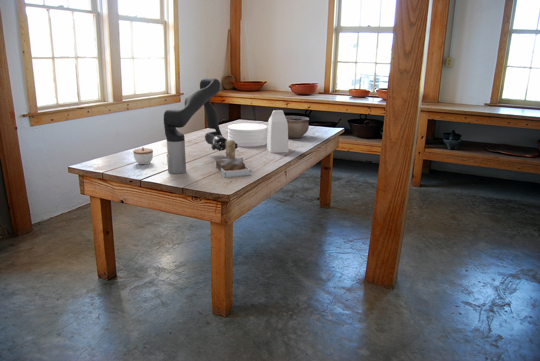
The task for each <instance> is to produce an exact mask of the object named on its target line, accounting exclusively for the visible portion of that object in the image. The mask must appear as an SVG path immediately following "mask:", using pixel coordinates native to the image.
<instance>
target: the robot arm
mask: <svg viewBox="0 0 540 361" xmlns="http://www.w3.org/2000/svg"><path fill="white" fill-rule="evenodd" d="M221 86H222V85H221V82H220V80H219V79H217V78H209V77H207V78H206V77H203V78H202V79H200V81H199V89H197V90H194V91H192V92H191V93H189V95H187V97H185V99H184V108H182V109H176V108H175V109H174V108H173V109H172V108H170V109H169V108H168V109H166V110H165V111H164V113H163V126H164V128H163V129H164V135H165V137H166V149H167V154H166V160H167V162H166V163H167V171H168V173H169V174H170V175H171V174H172V175H179V174H180V175H181V174H184V173H187V162H186V160H187V159H186V140H185V134H183V133H182V132H180V131H178V130H177V129H181V128H184V127H185V126H186V125H187V124H188V122H189V121H190V120H191V118H192V117H193V116H194V115H195V114H196V113H197V112H198V111H199V110H201V108H202V107H204V110H205V118H206V128H208V129H212V130H213V131H208V132H206V134H205V135H204V139H205V141H206V143H207V144H209V145H210V146H211V149H212V150H213V151H215V150H216V151H219V152H220V151H226V141H228V138H226V137H225V136H223V134H222V132H221V129H220V126H219V117H218V112H217V110H216V108H215V106H213V104H212V102H211V99H212V98H213V97H215V96H216V95H217V94H219V92H220V90H221ZM214 130H215V131H214ZM238 147H239V146H237V143H235V151H236V150H237V149H238Z"/></svg>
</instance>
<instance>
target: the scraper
mask: <svg viewBox="0 0 540 361" xmlns="http://www.w3.org/2000/svg"><path fill="white" fill-rule="evenodd" d="M227 140H228V139H227ZM220 161H221V165H231V164H242V163H244V157H242V156H240V157H236V150H235V141H233V140H228V141H226V149H225V158H221V159H220Z"/></svg>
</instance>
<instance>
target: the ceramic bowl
mask: <svg viewBox="0 0 540 361" xmlns="http://www.w3.org/2000/svg"><path fill="white" fill-rule="evenodd" d="M285 118H286V120H287V123H288V139H297V138H302V137H303V136H305V134H307V132H309V131H308V130H309V128H310V126H309V125H310V124H309V121H310V118H309V117H306V116H300V115H285Z"/></svg>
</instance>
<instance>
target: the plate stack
mask: <svg viewBox="0 0 540 361" xmlns="http://www.w3.org/2000/svg"><path fill="white" fill-rule="evenodd" d="M227 129H228V130H227V140H233V141H235V143H237V147H242V148H243V147H249V148H250V147H259V146H260V147H261V146H265V145H267V135H268V124H267V125H266V124H262V123H252V122H243V123H240V122H239V123H233V124H229V125H227Z"/></svg>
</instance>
